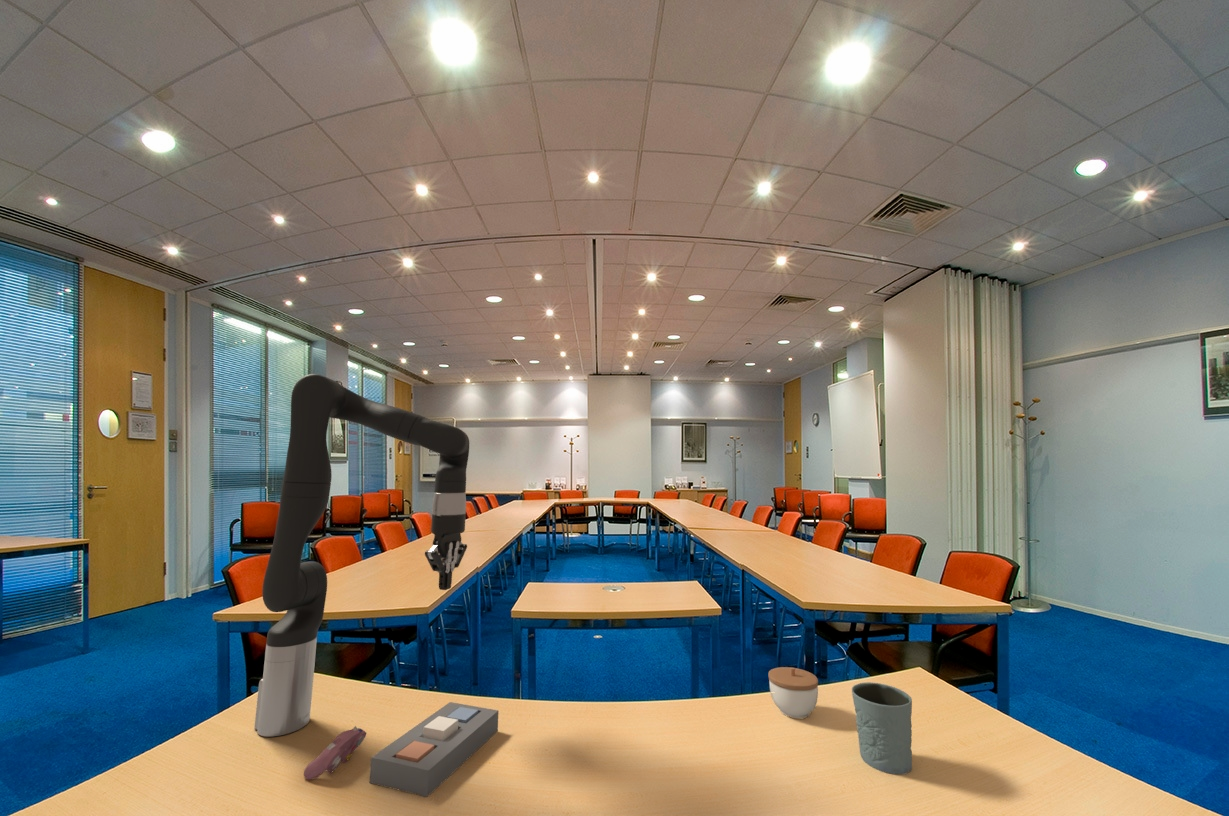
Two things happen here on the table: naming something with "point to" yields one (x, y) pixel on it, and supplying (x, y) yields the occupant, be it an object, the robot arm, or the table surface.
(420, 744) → the terracotta key
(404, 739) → the key console
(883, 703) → the grey embossed vase
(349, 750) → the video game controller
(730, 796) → the table surface
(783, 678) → the lidded jar
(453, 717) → the slate blue key
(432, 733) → the off-white key
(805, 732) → the table surface
